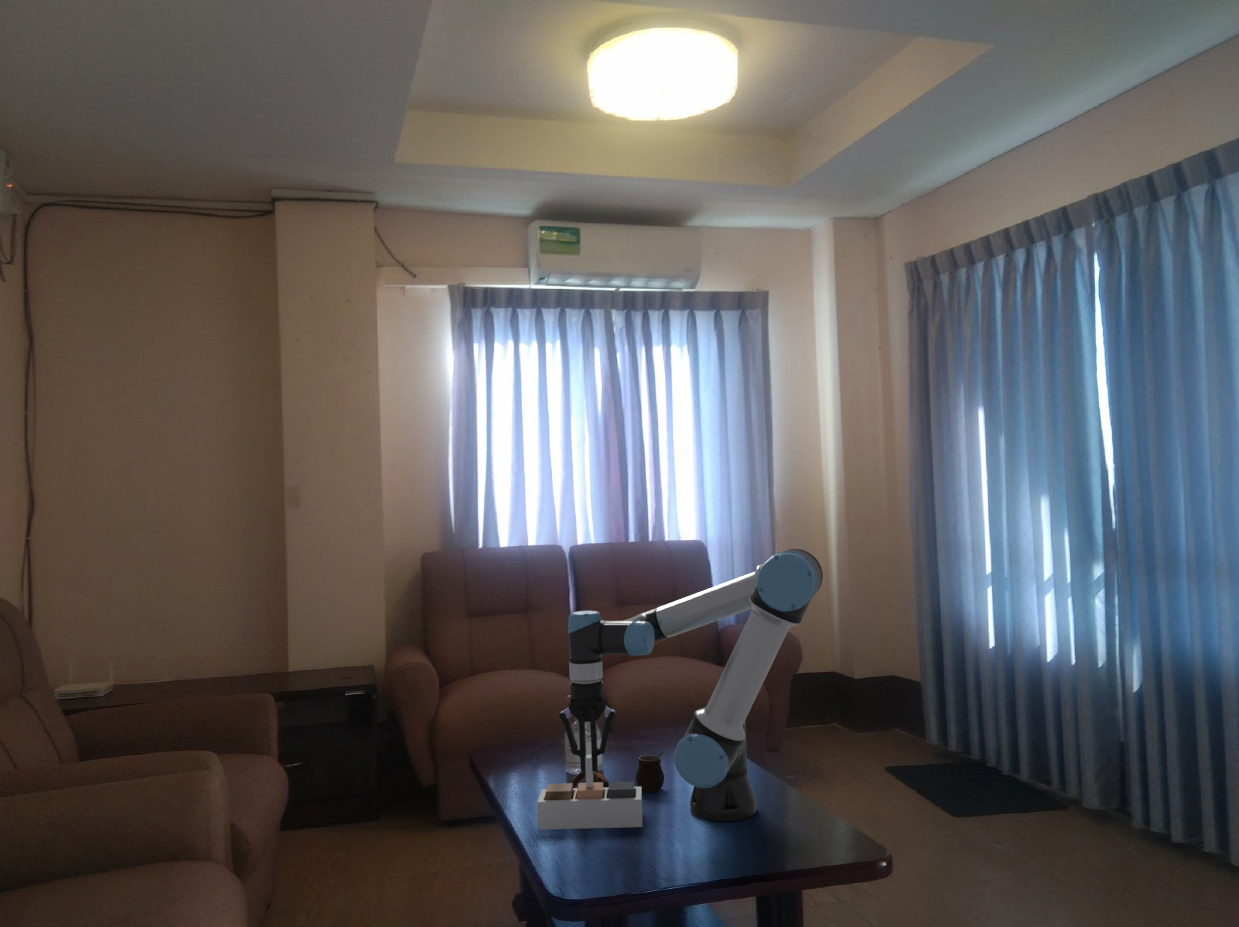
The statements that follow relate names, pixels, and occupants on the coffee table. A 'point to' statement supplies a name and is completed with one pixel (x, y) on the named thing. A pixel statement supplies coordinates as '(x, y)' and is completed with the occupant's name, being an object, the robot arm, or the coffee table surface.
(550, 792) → the walnut key
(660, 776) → the mate gourd
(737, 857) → the coffee table surface
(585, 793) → the terracotta key
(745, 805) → the robot arm
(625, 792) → the black rubber key
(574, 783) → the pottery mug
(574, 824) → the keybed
